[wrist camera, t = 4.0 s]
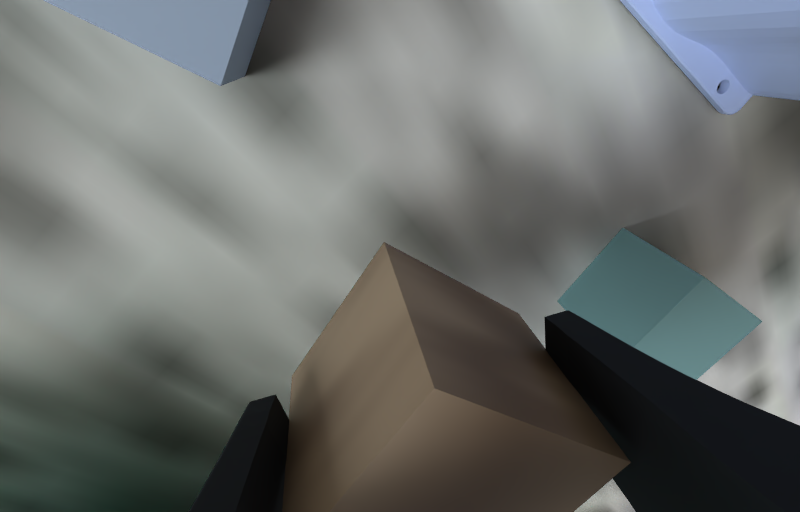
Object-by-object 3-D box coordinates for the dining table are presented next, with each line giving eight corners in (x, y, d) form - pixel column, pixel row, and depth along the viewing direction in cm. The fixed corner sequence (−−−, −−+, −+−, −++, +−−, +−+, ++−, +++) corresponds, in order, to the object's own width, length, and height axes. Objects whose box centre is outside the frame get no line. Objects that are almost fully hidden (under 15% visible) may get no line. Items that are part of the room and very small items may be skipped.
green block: (675, 266, 20) (762, 321, 16) (612, 331, 22) (678, 396, 18) (621, 227, 19) (704, 277, 15) (556, 300, 20) (615, 364, 16)
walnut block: (518, 313, 11) (630, 462, 7) (425, 420, 13) (476, 594, 9) (384, 242, 9) (434, 387, 5) (291, 375, 11) (277, 572, 7)
